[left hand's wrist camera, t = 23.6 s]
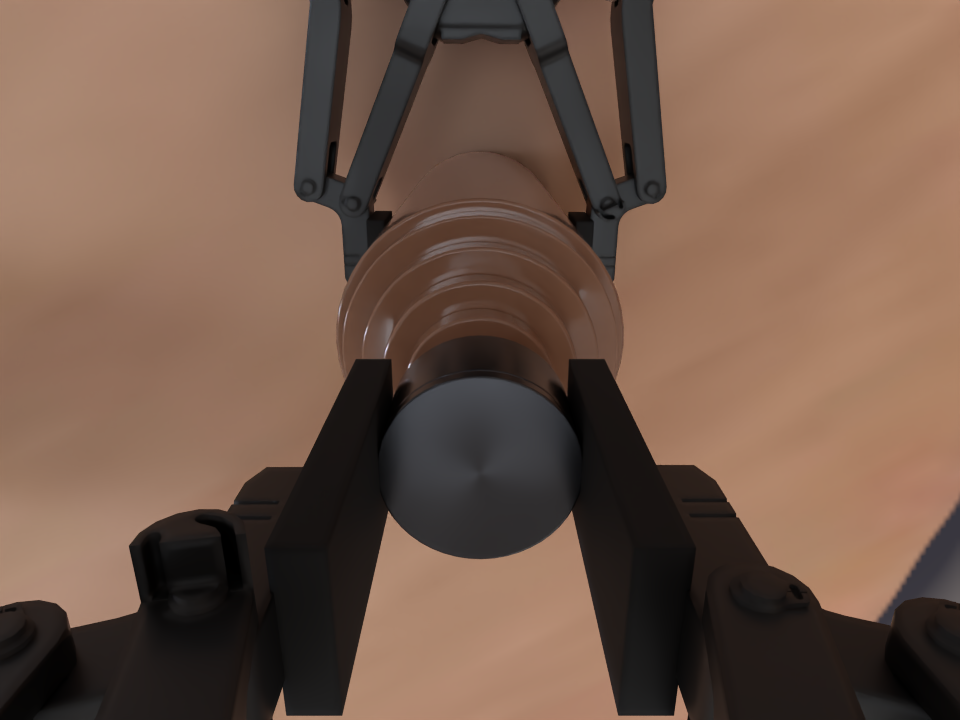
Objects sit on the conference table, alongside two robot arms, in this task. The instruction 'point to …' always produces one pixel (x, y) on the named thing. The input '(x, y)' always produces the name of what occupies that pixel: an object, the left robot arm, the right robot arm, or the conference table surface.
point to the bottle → (480, 273)
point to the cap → (480, 449)
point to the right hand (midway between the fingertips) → (479, 354)
